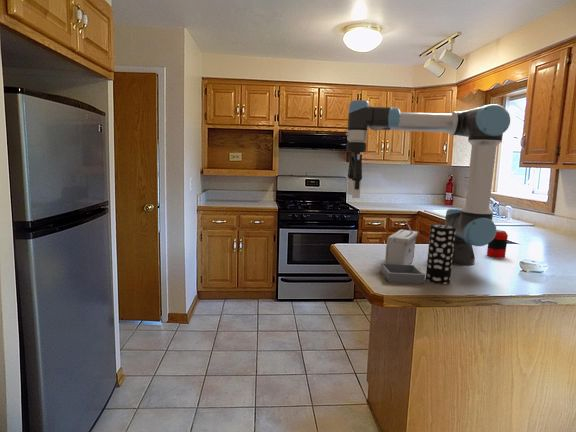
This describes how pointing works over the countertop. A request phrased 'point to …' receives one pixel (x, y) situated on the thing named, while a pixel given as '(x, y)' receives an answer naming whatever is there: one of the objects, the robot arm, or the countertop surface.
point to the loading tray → (402, 274)
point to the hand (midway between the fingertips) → (353, 196)
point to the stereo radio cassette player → (401, 247)
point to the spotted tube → (440, 254)
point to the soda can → (498, 245)
